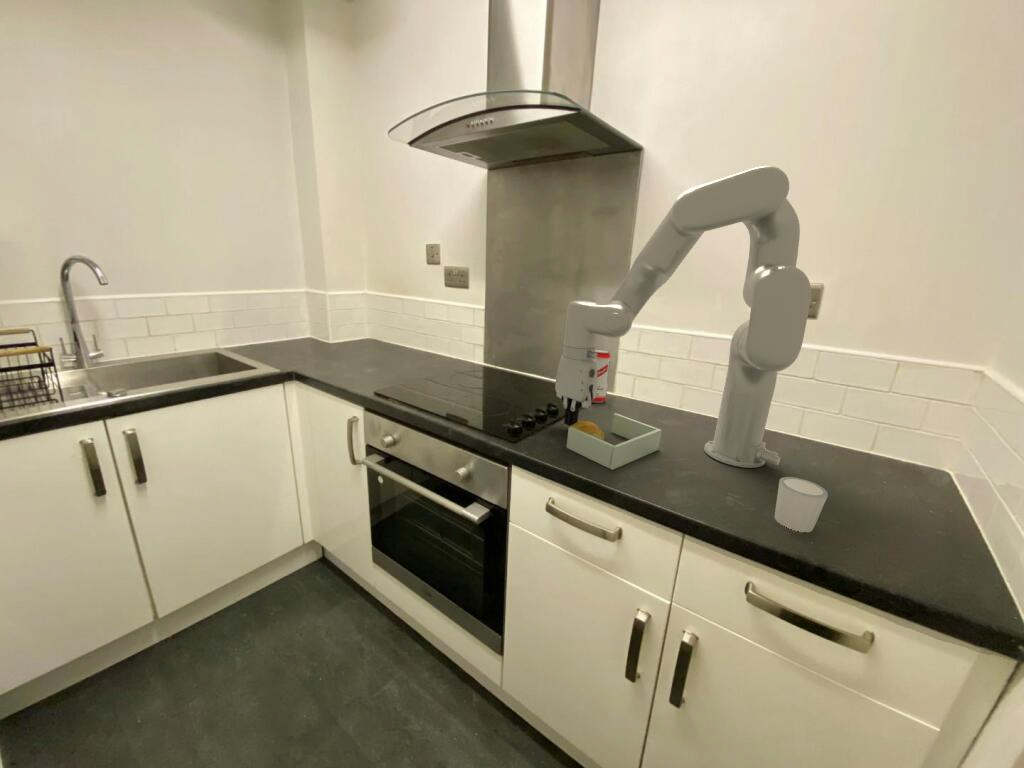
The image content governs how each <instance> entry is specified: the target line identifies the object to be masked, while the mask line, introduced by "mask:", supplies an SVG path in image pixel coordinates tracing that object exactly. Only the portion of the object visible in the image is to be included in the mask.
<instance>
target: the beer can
mask: <svg viewBox="0 0 1024 768" xmlns="http://www.w3.org/2000/svg"><path fill="white" fill-rule="evenodd" d="M595 353H597V357H596V358H594V361H596V364H597V390H596V397H595V399H594V400H591V404H592V403H593V404H602V403H604V402H605V401H606V400H607V394H608V393H607V392H608V385H609V379H610V378H609V377H610V370H611V361H612V357H611V354H610V350H608V349H604V348H602V349H600V348H595Z"/></svg>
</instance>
